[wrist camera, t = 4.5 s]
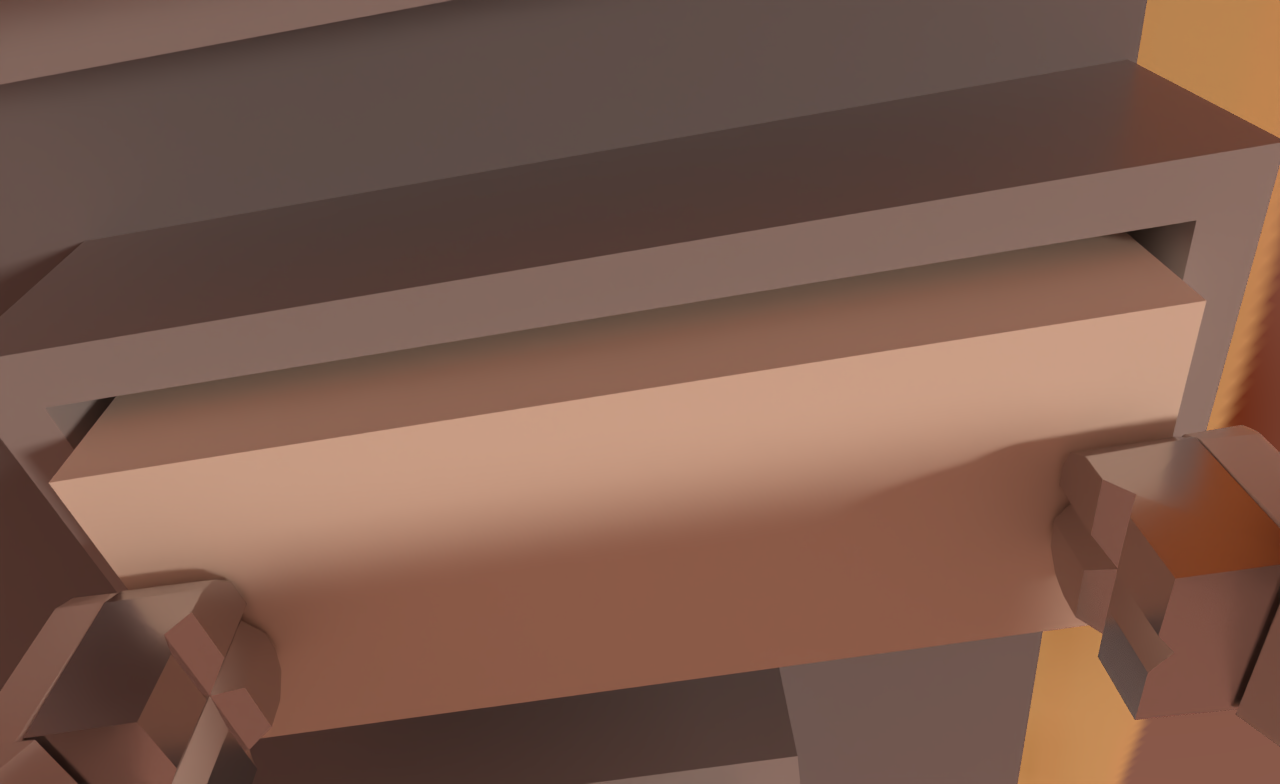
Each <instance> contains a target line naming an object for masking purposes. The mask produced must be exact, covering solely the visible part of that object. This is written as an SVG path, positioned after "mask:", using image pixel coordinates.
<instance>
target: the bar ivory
mask: <svg viewBox="0 0 1280 784" xmlns="http://www.w3.org/2000/svg"><path fill="white" fill-rule="evenodd" d="M1205 305H1206V300H1205V299H1204V298H1203V297H1202V296H1200V295H1199V294H1198V293H1197V292H1196V291H1195V290H1193V289H1192V288H1191V287H1190V286H1189V285H1187V284H1186V283H1185V282H1184V281H1183V280H1182V279H1180V278H1179V277H1178V276H1177V275H1176V274H1174V273H1173V272H1172V271H1171V270H1170V269H1169V268H1167V267H1166V266H1165V265H1164V264H1163V263H1162V262H1160V261H1159V260H1158V259H1157V258H1156V257H1154V256H1153V255H1152V254H1151V253H1150V252H1149V251H1147V250H1146V249H1145V248H1144V247H1143V246H1142V245H1140V244H1139V243H1138V242H1137V241H1136V240H1134V239H1133V238H1132V237H1131V236H1130V235H1129V234H1127V233H1126V232H1122V233H1116V234H1110V235H1103V236H1097V237H1091V238H1085V239H1079V240H1073V241H1067V242H1061V243H1054V244H1048V245H1042V246H1036V247H1030V248H1024V249H1017V250H1011V251H1005V252H999V253H993V254H987V255H981V256H974V257H968V258H962V259H956V260H950V261H944V262H938V263H932V264H925V265H919V266H913V267H907V268H901V269H895V270H888V271H882V272H876V273H870V274H864V275H858V276H852V277H846V278H839V279H833V280H827V281H821V282H815V283H809V284H802V285H796V286H790V287H784V288H778V289H772V290H766V291H760V292H753V293H747V294H741V295H735V296H729V297H723V298H716V299H710V300H704V301H698V302H692V303H686V304H680V305H674V306H667V307H661V308H655V309H649V310H643V311H637V312H631V313H624V314H618V315H612V316H606V317H600V318H594V319H588V320H581V321H575V322H569V323H563V324H557V325H551V326H545V327H538V328H532V329H526V330H520V331H514V332H508V333H501V334H495V335H489V336H483V337H477V338H471V339H465V340H459V341H452V342H446V343H440V344H434V345H428V346H422V347H415V348H409V349H403V350H397V351H391V352H385V353H379V354H373V355H366V356H360V357H354V358H348V359H342V360H336V361H330V362H323V363H317V364H311V365H305V366H299V367H293V368H287V369H280V370H274V371H268V372H262V373H256V374H250V375H244V376H237V377H231V378H225V379H219V380H213V381H207V382H201V383H194V384H188V385H182V386H176V387H170V388H164V389H158V390H151V391H145V392H139V393H133V394H127V395H121V396H116V397H115V398H114V400H113V401H112V402H111V404H110V405H109V406H108V407H107V409H106V410H105V411H104V412H103V414H102V415H101V416H100V418H99V419H98V420H97V421H96V423H95V424H94V425H93V427H92V428H91V429H90V430H89V432H88V433H87V434H86V436H85V437H84V438H83V439H82V441H81V442H80V443H79V444H78V446H77V447H76V448H75V450H74V451H73V452H72V453H71V455H70V456H69V457H68V459H67V460H66V461H65V462H64V464H63V465H62V466H61V467H60V469H59V470H58V471H57V473H56V474H55V475H54V476H53V478H52V479H51V480H50V482H49V484H50V486H51V487H52V488H53V490H54V491H55V492H56V494H57V495H58V496H59V498H60V499H61V500H62V502H63V503H64V504H65V506H66V507H67V508H68V510H69V511H70V512H71V514H72V515H73V516H74V518H75V519H76V520H77V522H78V523H79V524H80V526H81V527H82V529H83V530H84V531H85V533H86V534H87V535H88V537H89V538H90V539H91V541H92V542H93V543H94V545H95V546H96V547H97V549H98V550H99V551H100V553H101V554H102V555H103V557H104V558H105V559H106V561H107V562H108V563H109V565H110V566H111V567H112V569H113V570H114V572H115V573H116V574H117V576H118V577H119V578H120V580H121V581H122V582H123V584H124V585H125V586H126V588H127V589H128V590H134V589H142V588H150V587H158V586H166V585H174V584H183V583H191V582H199V581H207V580H215V579H216V580H224V581H231V582H232V583H233V585H234V586H235V588H236V589H237V591H238V592H239V593H240V595H241V596H242V598H243V599H244V600H245V602H246V603H247V605H246V608H245V611H244V614H243V617H242V621H244V622H245V623H247V624H249V625H251V626H253V627H255V628H257V629H259V630H261V631H262V632H264V633H266V635H267V636H268V638H269V640H270V641H271V643H272V644H273V646H274V648H275V649H276V653H277V657H278V660H279V664H280V667H281V695H280V702H279V706H278V709H277V712H276V715H275V718H274V721H273V724H272V727H271V728H270V729H269V730H268V731H267V732H266V733H265V734H264V735H263V736H262V737H261V738H267V737H275V736H282V735H289V734H297V733H304V732H311V731H318V730H326V729H333V728H340V727H348V726H355V725H362V724H370V723H377V722H384V721H392V720H399V719H406V718H413V717H421V716H428V715H435V714H443V713H450V712H457V711H465V710H472V709H479V708H486V707H494V706H501V705H508V704H516V703H523V702H530V701H538V700H545V699H552V698H560V697H567V696H574V695H581V694H589V693H596V692H603V691H611V690H618V689H625V688H633V687H640V686H647V685H655V684H662V683H669V682H676V681H684V680H691V679H698V678H706V677H713V676H720V675H728V674H735V673H742V672H749V671H757V670H764V669H771V668H779V667H786V666H793V665H801V664H808V663H815V662H823V661H830V660H837V659H844V658H852V657H859V656H866V655H874V654H881V653H888V652H896V651H903V650H910V649H918V648H925V647H932V646H939V645H947V644H954V643H961V642H969V641H976V640H983V639H991V638H998V637H1005V636H1012V635H1020V634H1027V633H1034V632H1042V631H1049V630H1056V629H1064V628H1071V627H1078V626H1086V625H1088V624H1086V623H1084V622H1083V621H1081V620H1079V619H1078V618H1076V617H1075V616H1074V614H1073V612H1072V610H1071V608H1070V606H1069V605H1068V603H1067V601H1066V599H1065V597H1064V596H1063V593H1062V591H1061V588H1060V585H1059V583H1058V580H1057V577H1056V575H1055V570H1054V563H1053V557H1052V551H1051V539H1052V530H1053V521H1054V519H1055V518H1056V517H1057V516H1058V515H1059V514H1060V513H1061V512H1062V511H1063V510H1064V509H1065V508H1066V507H1067V506H1068V505H1069V504H1070V501H1069V500H1068V498H1067V497H1066V495H1065V494H1064V492H1063V491H1062V489H1061V487H1060V486H1059V483H1060V478H1061V472H1062V466H1063V464H1064V462H1065V461H1066V459H1067V457H1068V456H1069V454H1070V453H1072V452H1078V451H1085V450H1091V449H1098V448H1104V447H1110V446H1117V445H1123V444H1130V443H1136V442H1142V441H1149V440H1155V439H1162V438H1168V437H1173V433H1174V429H1175V425H1176V421H1177V417H1178V413H1179V409H1180V405H1181V401H1182V397H1183V393H1184V389H1185V385H1186V381H1187V377H1188V373H1189V369H1190V365H1191V361H1192V357H1193V353H1194V349H1195V345H1196V341H1197V337H1198V333H1199V329H1200V325H1201V321H1202V317H1203V313H1204V309H1205Z"/></svg>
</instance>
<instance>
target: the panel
mask: <svg viewBox="0 0 1280 784" xmlns="http://www.w3.org/2000/svg"><path fill="white" fill-rule="evenodd" d="M1146 3H1147V0H0V691H1V689H2V688H3V686H4V685H5V683H6V682H7V680H8V679H9V677H10V676H11V674H12V673H13V671H14V670H15V668H16V667H17V665H18V664H19V662H20V661H21V659H22V658H23V656H24V655H25V653H26V652H27V650H28V649H29V647H30V646H31V644H32V643H33V641H34V640H35V638H36V637H37V635H38V634H39V632H40V631H41V629H42V628H43V626H44V625H45V623H46V622H47V620H48V619H49V617H50V616H51V614H52V613H53V611H54V610H55V609H56V608H57V607H59V606H61V605H62V604H64V603H65V602H67V601H69V600H70V599H72V598H76V597H85V596H94V595H102V594H111V593H119V592H120V591H126V590H128V589H127V588H126V586H125V585H124V584H123V582H122V581H121V580H120V578H119V577H118V576H117V574H116V573H115V572H114V570H113V569H112V567H111V566H110V565H109V563H108V562H107V561H106V559H105V558H104V557H103V555H102V554H101V553H100V551H99V550H98V549H97V547H96V546H95V545H94V543H93V542H92V541H91V539H90V538H89V537H88V535H87V534H86V533H85V531H84V530H83V529H82V527H81V526H80V524H79V523H78V522H77V520H76V519H75V518H74V516H73V515H72V514H71V512H70V511H69V510H68V508H67V507H66V506H65V504H64V503H63V502H62V500H61V499H60V498H59V496H58V495H57V494H56V492H55V491H54V490H53V488H52V487H51V486H50V484H49V482H50V480H51V479H52V478H53V476H54V475H55V474H56V473H57V471H58V470H59V469H60V467H61V466H62V465H63V464H64V462H65V461H66V460H67V459H68V457H69V456H70V455H71V453H72V452H73V451H74V450H75V448H76V447H77V446H78V444H79V443H80V442H81V441H82V439H83V438H84V437H85V436H86V434H87V433H88V432H89V430H90V429H91V428H92V427H93V425H94V424H95V423H96V421H97V420H98V419H99V418H100V416H101V415H102V414H103V412H104V411H105V410H106V409H107V407H108V406H109V405H110V404H111V402H112V401H113V400H114V398H115V397H116V396H121V395H127V394H133V393H139V392H145V391H151V390H158V389H164V388H170V387H176V386H182V385H188V384H194V383H201V382H207V381H213V380H219V379H225V378H231V377H237V376H244V375H250V374H256V373H262V372H268V371H274V370H280V369H287V368H293V367H299V366H305V365H311V364H317V363H323V362H330V361H336V360H342V359H348V358H354V357H360V356H366V355H373V354H379V353H385V352H391V351H397V350H403V349H409V348H415V347H422V346H428V345H434V344H440V343H446V342H452V341H459V340H465V339H471V338H477V337H483V336H489V335H495V334H501V333H508V332H514V331H520V330H526V329H532V328H538V327H545V326H551V325H557V324H563V323H569V322H575V321H581V320H588V319H594V318H600V317H606V316H612V315H618V314H624V313H631V312H637V311H643V310H649V309H655V308H661V307H667V306H674V305H680V304H686V303H692V302H698V301H704V300H710V299H716V298H723V297H729V296H735V295H741V294H747V293H753V292H760V291H766V290H772V289H778V288H784V287H790V286H796V285H802V284H809V283H815V282H821V281H827V280H833V279H839V278H846V277H852V276H858V275H864V274H870V273H876V272H882V271H888V270H895V269H901V268H907V267H913V266H919V265H925V264H932V263H938V262H944V261H950V260H956V259H962V258H968V257H974V256H981V255H987V254H993V253H999V252H1005V251H1011V250H1017V249H1024V248H1030V247H1036V246H1042V245H1048V244H1054V243H1061V242H1067V241H1073V240H1079V239H1085V238H1091V237H1097V236H1103V235H1110V234H1116V233H1122V232H1126V233H1127V234H1129V235H1130V236H1131V237H1132V238H1133V239H1134V240H1136V241H1137V242H1138V243H1139V244H1140V245H1142V246H1143V247H1144V248H1145V249H1146V250H1147V251H1149V252H1150V253H1151V254H1152V255H1153V256H1154V257H1156V258H1157V259H1158V260H1159V261H1160V262H1162V263H1163V264H1164V265H1165V266H1166V267H1167V268H1169V269H1170V270H1171V271H1172V272H1173V273H1174V274H1176V275H1177V276H1178V277H1179V278H1180V279H1182V280H1183V281H1184V282H1185V283H1186V284H1187V285H1189V286H1190V287H1191V288H1192V289H1193V290H1195V291H1196V292H1197V293H1198V294H1199V295H1200V296H1202V297H1203V298H1204V299H1205V300H1206V305H1205V309H1204V313H1203V317H1202V321H1201V325H1200V329H1199V333H1198V337H1197V341H1196V345H1195V349H1194V353H1193V357H1192V361H1191V365H1190V369H1189V373H1188V377H1187V381H1186V385H1185V389H1184V393H1183V397H1182V401H1181V405H1180V409H1179V413H1178V417H1177V421H1176V425H1175V429H1174V433H1173V437H1174V436H1178V437H1181V436H1183V435H1184V434H1190V433H1197V432H1203V431H1206V429H1207V426H1208V422H1209V418H1210V415H1211V411H1212V408H1213V404H1214V400H1215V397H1216V393H1217V390H1218V386H1219V382H1220V379H1221V375H1222V371H1223V368H1224V364H1225V361H1226V357H1227V353H1228V350H1229V346H1230V343H1231V339H1232V335H1233V332H1234V328H1235V324H1236V321H1237V317H1238V314H1239V310H1240V306H1241V303H1242V299H1243V296H1244V292H1245V288H1246V285H1247V281H1248V277H1249V274H1250V270H1251V267H1252V263H1253V259H1254V256H1255V252H1256V249H1257V245H1258V241H1259V238H1260V234H1261V230H1262V227H1263V223H1264V220H1265V216H1266V212H1267V209H1268V205H1269V202H1270V198H1271V194H1272V191H1273V187H1274V183H1275V180H1276V176H1277V173H1278V169H1279V165H1280V138H1278V137H1276V136H1274V135H1272V134H1270V133H1268V132H1266V131H1265V130H1263V129H1261V128H1259V127H1257V126H1255V125H1253V124H1251V123H1249V122H1247V121H1245V120H1243V119H1242V118H1240V117H1238V116H1236V115H1234V114H1232V113H1230V112H1228V111H1226V110H1224V109H1222V108H1220V107H1218V106H1217V105H1215V104H1213V103H1211V102H1209V101H1207V100H1205V99H1203V98H1201V97H1199V96H1197V95H1195V94H1193V93H1192V92H1190V91H1188V90H1186V89H1184V88H1182V87H1180V86H1178V85H1176V84H1174V83H1172V82H1170V81H1169V80H1167V79H1165V78H1163V77H1161V76H1159V75H1157V74H1155V73H1153V72H1151V71H1149V70H1147V69H1145V68H1144V67H1142V66H1140V65H1138V64H1137V58H1138V52H1139V46H1140V40H1141V34H1142V28H1143V22H1144V16H1145V9H1146ZM1042 632H1043V631H1042ZM1042 632H1034V633H1027V634H1020V635H1012V636H1005V637H998V638H991V639H983V640H976V641H969V642H961V643H954V644H947V645H939V646H932V647H925V648H918V649H910V650H903V651H896V652H888V653H881V654H874V655H866V656H859V657H852V658H844V659H837V660H830V661H823V662H815V663H808V664H801V665H793V666H786V667H779V668H771V669H764V670H757V671H749V672H742V673H735V674H728V675H720V676H713V677H706V678H698V679H691V680H684V681H676V682H669V683H662V684H655V685H647V686H640V687H633V688H625V689H618V690H611V691H603V692H596V693H589V694H581V695H574V696H567V697H560V698H552V699H545V700H538V701H530V702H523V703H516V704H508V705H501V706H494V707H486V708H479V709H472V710H465V711H457V712H450V713H443V714H435V715H428V716H421V717H413V718H406V719H399V720H392V721H384V722H377V723H370V724H362V725H355V726H348V727H340V728H333V729H326V730H318V731H311V732H304V733H297V734H289V735H282V736H275V737H267V738H260V739H259V740H258V741H257V742H256V743H255V744H254V745H253V747H252V748H251V749H250V753H251V755H252V758H253V760H254V762H255V765H256V767H257V771H256V774H255V777H254V780H253V783H252V784H1017V783H1018V777H1019V771H1020V765H1021V759H1022V753H1023V747H1024V741H1025V735H1026V729H1027V723H1028V717H1029V711H1030V705H1031V699H1032V693H1033V686H1034V680H1035V674H1036V668H1037V662H1038V656H1039V650H1040V644H1041V638H1042Z"/></svg>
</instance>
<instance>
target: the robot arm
mask: <svg viewBox="0 0 1280 784" xmlns="http://www.w3.org/2000/svg"><path fill="white" fill-rule="evenodd" d="M1059 486H1060V487H1061V489H1062V491H1063V492H1064V494H1065V495H1066V497H1067V498H1068V500H1069V501H1070V504H1069V505H1068V506H1067V507H1066V508H1065V509H1064V510H1063V511H1062V512H1061V513H1060V514H1059V515H1058V516H1057V517H1056V518H1055V519H1054V521H1053V530H1052V539H1051V551H1052V557H1053V563H1054V570H1055V575H1056V577H1057V580H1058V583H1059V585H1060V588H1061V591H1062V593H1063V596H1064V597H1065V599H1066V601H1067V603H1068V605H1069V606H1070V608H1071V610H1072V612H1073V614H1074V616H1075V617H1076V618H1078V619H1079V620H1081V621H1083V622H1084V623H1086V624H1088V625H1089V626H1091V627H1093V628H1094V629H1096V630H1098V631H1099V632H1101V633H1102V634H1103V636H1102V640H1101V645H1100V650H1099V654H1098V657H1099V659H1100V661H1101V663H1102V664H1103V666H1104V668H1105V669H1106V671H1107V673H1108V675H1109V676H1110V678H1111V680H1112V681H1113V683H1114V685H1115V687H1116V688H1117V690H1118V692H1119V693H1120V695H1121V697H1122V699H1123V700H1124V702H1125V704H1126V705H1127V707H1128V709H1129V711H1130V712H1131V714H1132V716H1133V717H1134V719H1135V720H1139V719H1148V718H1158V717H1168V716H1177V715H1187V714H1197V713H1207V712H1217V711H1226V710H1236V709H1238V710H1237V712H1236V715H1237V716H1238V717H1240V718H1241V719H1243V720H1244V721H1245V722H1247V723H1248V724H1249V725H1251V726H1252V727H1254V728H1255V729H1256V730H1258V731H1259V732H1261V733H1262V734H1263V735H1265V736H1266V737H1267V738H1269V739H1270V740H1272V741H1273V742H1274V743H1276V744H1277V745H1279V746H1280V453H1279V451H1277V450H1276V449H1275V448H1274V447H1273V446H1272V445H1271V444H1270V443H1269V442H1268V441H1267V440H1266V439H1265V438H1264V437H1263V436H1262V435H1261V434H1260V433H1258V432H1257V431H1255V430H1253V429H1250V428H1248V427H1245V426H1243V425H1240V426H1234V427H1228V428H1221V429H1215V430H1209V431H1203V432H1197V433H1190V434H1184V435H1183V436H1181V437H1178V436H1174V437H1168V438H1162V439H1155V440H1149V441H1142V442H1136V443H1130V444H1123V445H1117V446H1110V447H1104V448H1098V449H1091V450H1085V451H1078V452H1072V453H1070V454H1069V456H1068V457H1067V459H1066V461H1065V462H1064V464H1063V466H1062V472H1061V478H1060V483H1059ZM246 605H247V603H246V602H245V600H244V599H243V598H242V596H241V595H240V593H239V592H238V591H237V589H236V588H235V586H234V585H233V583H232V582H231V581H224V580H216V579H215V580H207V581H199V582H191V583H183V584H174V585H166V586H158V587H150V588H142V589H134V590H126V591H120V592H119V593H111V594H102V595H94V596H85V597H76V598H72V599H70V600H69V601H67V602H65V603H64V604H62V605H61V606H59V607H57V608H56V609H55V610H54V611H53V613H52V614H51V616H50V617H49V619H48V620H47V622H46V623H45V625H44V626H43V628H42V629H41V631H40V632H39V634H38V635H37V637H36V638H35V640H34V641H33V643H32V644H31V646H30V647H29V649H28V650H27V652H26V653H25V655H24V656H23V658H22V659H21V661H20V662H19V664H18V665H17V667H16V668H15V670H14V671H13V673H12V674H11V676H10V677H9V679H8V680H7V682H6V683H5V685H4V686H3V688H2V689H1V691H0V784H252V783H253V780H254V777H255V774H256V771H257V767H256V765H255V762H254V760H253V758H252V755H251V753H250V749H251V748H252V747H253V745H254V744H255V743H256V742H257V741H258V740H259V739H260V738H261V737H262V736H263V735H264V734H265V733H266V732H267V731H268V730H269V729H270V728H271V727H272V724H273V721H274V718H275V715H276V712H277V709H278V706H279V702H280V695H281V667H280V664H279V660H278V657H277V653H276V649H275V648H274V646H273V644H272V643H271V641H270V640H269V638H268V636H267V635H266V633H264V632H262V631H261V630H259V629H257V628H255V627H253V626H251V625H249V624H247V623H245V622H244V621H242V617H243V614H244V611H245V608H246Z"/></svg>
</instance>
